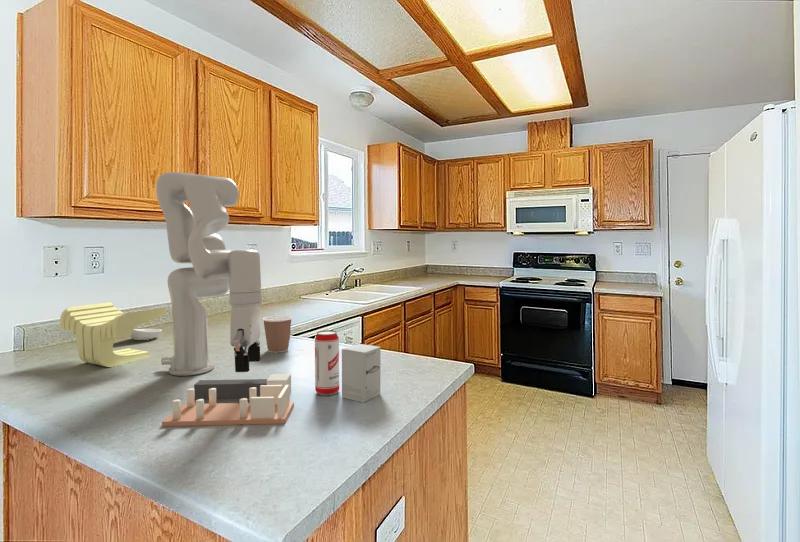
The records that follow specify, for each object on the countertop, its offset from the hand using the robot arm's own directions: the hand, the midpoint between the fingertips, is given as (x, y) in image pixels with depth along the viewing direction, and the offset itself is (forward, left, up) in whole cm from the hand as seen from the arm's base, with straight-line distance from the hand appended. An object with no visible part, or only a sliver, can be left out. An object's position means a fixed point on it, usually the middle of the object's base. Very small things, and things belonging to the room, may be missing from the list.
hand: (248, 366), depth 108 cm
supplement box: (+28, 0, -8) cm, 30 cm away
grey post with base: (-1, +1, -8) cm, 8 cm away
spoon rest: (-65, +64, -9) cm, 91 cm away
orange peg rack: (-1, -11, -8) cm, 14 cm away
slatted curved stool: (-55, +37, -8) cm, 66 cm away
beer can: (+19, +3, -8) cm, 21 cm away
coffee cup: (-4, +48, -8) cm, 48 cm away
